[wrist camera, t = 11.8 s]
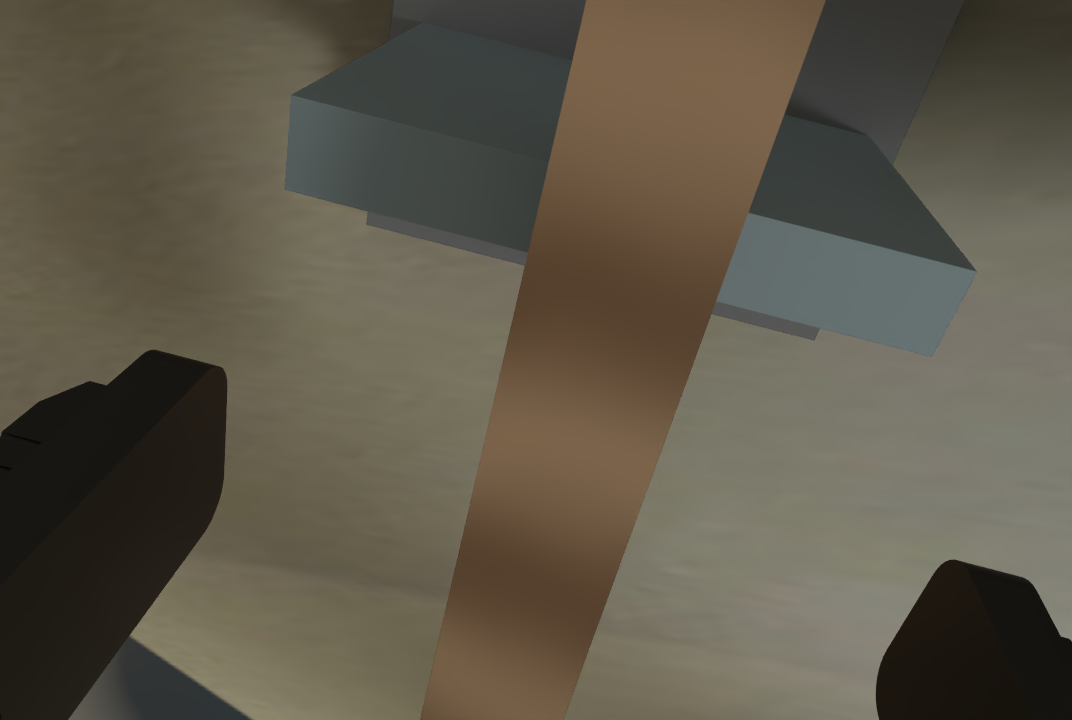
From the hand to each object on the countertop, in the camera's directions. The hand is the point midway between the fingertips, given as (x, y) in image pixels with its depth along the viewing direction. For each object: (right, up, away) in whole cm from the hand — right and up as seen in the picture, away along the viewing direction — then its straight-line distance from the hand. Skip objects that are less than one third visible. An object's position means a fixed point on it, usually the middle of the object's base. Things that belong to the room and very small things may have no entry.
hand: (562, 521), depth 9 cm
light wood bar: (+2, +4, +8) cm, 9 cm away
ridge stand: (+3, +10, +18) cm, 21 cm away
